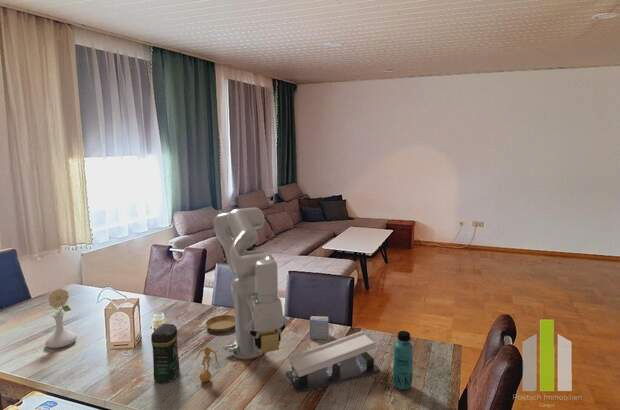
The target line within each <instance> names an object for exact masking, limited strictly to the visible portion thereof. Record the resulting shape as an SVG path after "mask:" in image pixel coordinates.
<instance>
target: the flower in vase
mask: <svg viewBox="0 0 620 410" xmlns="http://www.w3.org/2000/svg"><path fill="white" fill-rule="evenodd" d="M69 298H70V296H69V291H68V290H66V289H64V288H61V287H60V288H58V289H55V290H53V291H51V293H50V294H49V297H48V303H49V306H50V307H51V308H52V309H54V310H57V311H54V312H52V313H51V314H50V315H51V317H53V319H54V321H55V325H56V329H55V331H54V332H53V333H52V334H50V336H49V337H48V338H47V340H45V346H46V347H47V348H50V349H56V348H63V347H65V346H69V345H71V344H73V343H74V342H75V341H76V340H77V338H78V336H77V334H76V333H75V332H73V331H70V330H67V329H65V327H64V325H63V318H64V315H65V313H66V312H69V311H72V308H71V307H70V306H69V305H68V304H66V303H67V302H68V299H69Z"/></svg>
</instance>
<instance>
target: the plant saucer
mask: <svg viewBox="0 0 620 410" xmlns="http://www.w3.org/2000/svg"><path fill="white" fill-rule="evenodd" d="M205 326H206V327H207V328H208V329H209V330H210V331H213V332H215V333H224V331H225V332H227V331H231V330H233V328H235V315H231V314H223V315H216V316H212V317H210V318H209V319H207V320H206V321H205Z"/></svg>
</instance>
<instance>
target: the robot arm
mask: <svg viewBox="0 0 620 410" xmlns="http://www.w3.org/2000/svg"><path fill="white" fill-rule="evenodd" d="M265 221H266V220H265V214H264V212H263V211H262V210H261V208H258V207H244V208H235V209H232V210H231V211H229V212H223V213H220V214H217V215H216V216H215V217H214V219H213V230H214V233H215V235H216V238H217V239H218V241H219V243H220V245H221V246H222V248H223V250H224V254H225V259H226V262H227V265H228V268H229V271H230V273H231V275H232V276H235V278H234V279H232V281H231V283H230V291H231V294H232V295H231V296H232V301H233V309H234V316H235V326H234V328H235V329H234V330H235V331H234V332H235V339H234V341H233V343H231V344H225V345H224V346H223V350H224V352H226V351H228V353H232V355H233V357H235V358H236V359H239V360H243V361H244V360H254V359H256V358H258V357H259V358H260V356H263V354H264V353H261V351H260V348H261V347H260V337H259V335H260V332H263V331H268V330H273V329H276V330H277V332H278V333H279V342H281V340H282V337H281V335H282V334H283V331H284V330H285V328H286V326H288V325H289V324H290V320H289V319H288V318H287V317H285V316H284V314H283V313H284V312H283V311H284V310H283V305H282V300H281V298H280V297H279V286H278V285H279V284H278V283H279V281H278V278H279V277H278V263H277V261H276V260H275V259H274V256H272V254H271V253H269V252H264V251H263V250H260V249H256V250H254V249H253V250H247V249H248V248H250V247H252V246H253V245H254V244H256V242H257V240H258V237H259V236H258V235H259V234H258V232H257V230H258V229H261V228H262V227H264V225H265Z"/></svg>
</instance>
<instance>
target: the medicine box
mask: <svg viewBox="0 0 620 410" xmlns="http://www.w3.org/2000/svg"><path fill="white" fill-rule="evenodd" d="M329 319H330V318H329V316H317V315H315V316H313V315H311V316H310V318H309V339H310V340H329V337H330V336H329V335H330V331H329V329H330V328H329V327H330V325H329Z"/></svg>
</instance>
